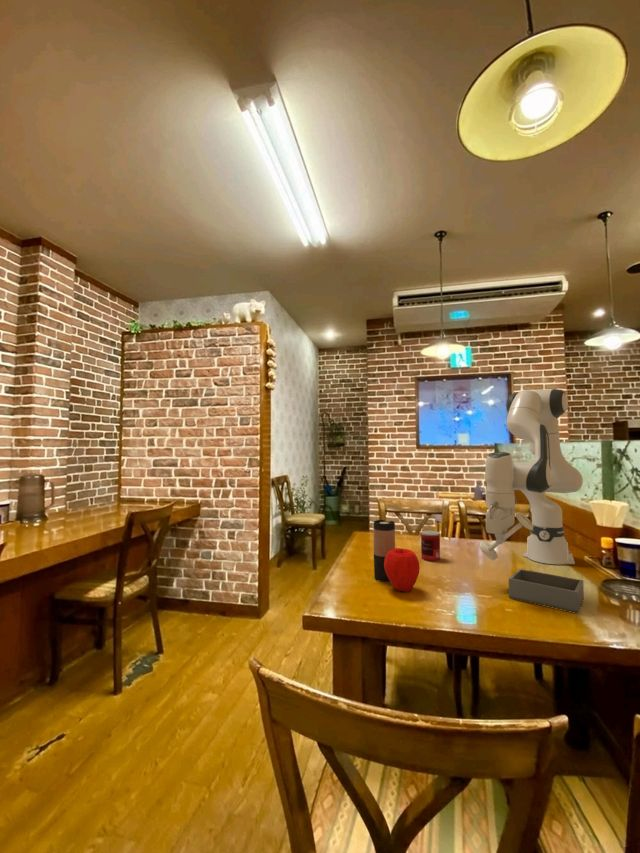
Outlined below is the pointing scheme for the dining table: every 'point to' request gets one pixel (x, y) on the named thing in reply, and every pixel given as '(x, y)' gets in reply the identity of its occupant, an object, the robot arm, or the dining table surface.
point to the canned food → (430, 545)
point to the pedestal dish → (505, 536)
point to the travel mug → (382, 546)
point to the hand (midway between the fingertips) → (501, 542)
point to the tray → (547, 590)
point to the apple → (402, 568)
